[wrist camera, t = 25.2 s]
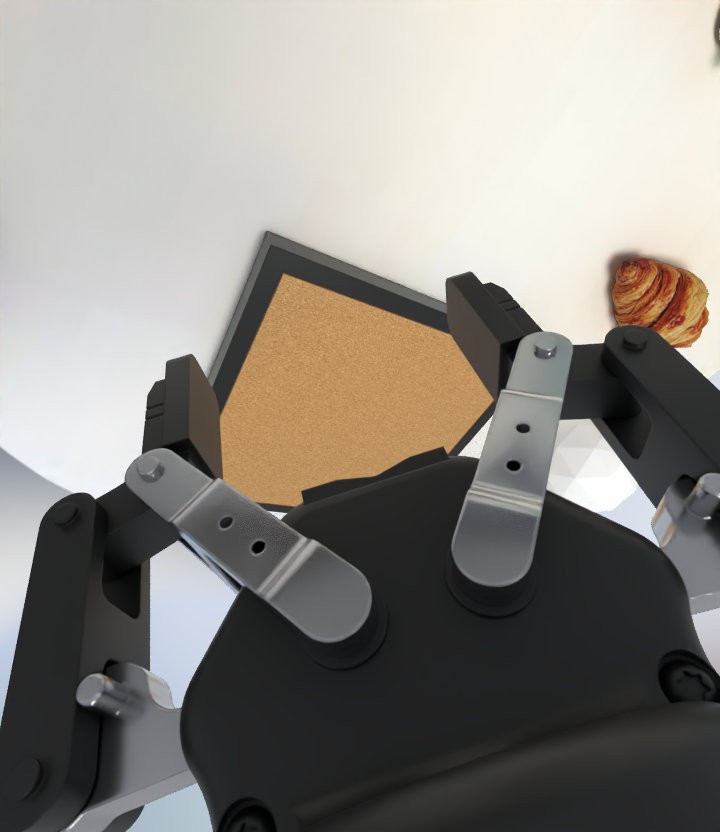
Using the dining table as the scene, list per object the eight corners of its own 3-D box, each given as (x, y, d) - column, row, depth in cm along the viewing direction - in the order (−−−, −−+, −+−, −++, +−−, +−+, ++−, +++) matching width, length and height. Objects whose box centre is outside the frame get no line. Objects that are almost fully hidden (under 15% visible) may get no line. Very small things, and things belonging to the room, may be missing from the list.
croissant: (680, 305, 67) (747, 312, 60) (648, 371, 67) (710, 385, 61) (612, 226, 54) (687, 224, 48) (573, 308, 55) (642, 317, 49)
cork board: (392, 509, 78) (535, 339, 59) (397, 524, 76) (547, 353, 58) (166, 482, 61) (267, 230, 42) (165, 500, 59) (270, 244, 40)
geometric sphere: (564, 396, 77) (658, 445, 72) (514, 473, 80) (601, 527, 74) (563, 385, 64) (677, 445, 58) (503, 479, 67) (607, 544, 61)
